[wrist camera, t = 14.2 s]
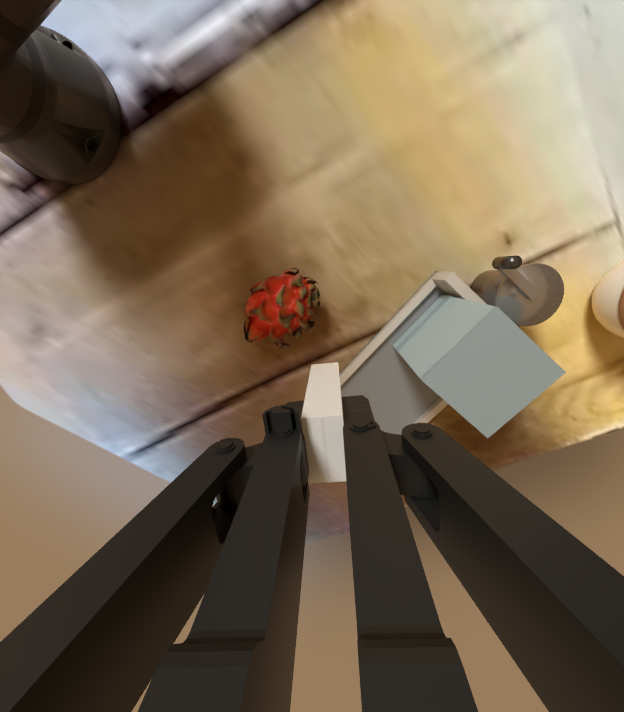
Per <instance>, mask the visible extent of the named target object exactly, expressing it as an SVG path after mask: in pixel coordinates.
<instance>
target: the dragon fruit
mask: <svg viewBox="0 0 624 712" xmlns="http://www.w3.org/2000/svg"><path fill="white" fill-rule="evenodd" d="M298 273H299V270H298V268H291V269H289V270H286V271H284V272H283V273H282V275H281V276H280V277H276V276H272V277H268V278H266V279H264V280H263V281H262V282H260V283H257V284H255V285H253V286H252V288H251V290H250V291H251V294H250V296H249V298H248V300H247V302H246V305H245V316H246V320H245V323H244V333H245V339H246V340H247V341H249V342H251V341H252V342H253V341H254V340H261V339H262V338H264V337H266V336H268V337H269V338H270V339H271V341H272V342H275V343H276V345H277V346H278V345H280V343H281V344H282V345H283V346H281V347H280V348H287V347H289V346H291V345H289V344H287V343H285V342H284V341H283V340H282V337H283V335H284V334H285V333H287V332H289V333H290V334H291V335H292V336H293V337H296V338H299V337H301V336H302V331H301V327H303V328H305V329H306V330H308V329H309V328H313V326H314V323H315V322H314V321H310V320H309V319H315V318H317V317H318V313H317V311H316V310H317V309H318V308H319V306H320V302H319V301H318V300H319V291H318V288H317V287H316V286H315V285H314V284H315V283H317V282H316V281H315V280H314V279H312V278H307V277H302V275H296V274H298ZM317 284H318V283H317ZM299 326H300V327H299ZM298 327H299V328H298ZM248 332H249V336H248V335H247V334H248ZM278 340H279V341H278ZM252 342H251V343H252Z"/></svg>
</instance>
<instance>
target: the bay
mask: <svg viewBox="0 0 624 712" xmlns="http://www.w3.org/2000/svg"><path fill="white" fill-rule="evenodd" d="M441 295H450V296H452V297H456V298H460V299H465V300H469V301H474V302H478V303H482V304H486V303H485V302H484V301H483V300H482V299H481V298H480V297H479V296H478V295H477V294H476V293H475V292H474V291H473V290H471V289H470V288H469V287H468V286H467V285H466V284H465V283H464V282H463V281H462V280H461V279H460V278H459V277H458V276H457V275H456V274H455V273H454V272H441V271H435V272H434V274H433V275H432V276H431V277H430V278H429V279H428V280H427V281H426V282H425V283H424V284H423V285H422V286H421V287H420V288H419V289H418V291H417V292H416V293H415V294H414V295H413V296H412V297H411V298H410V299H409V300H408V301H407V302H406V303H405V304H404V305H403V306H402V308H401V309H400V310H399V311H398V312H397V313H396V314H395V315H394V316H393V317H392V318H391V319H390V320H389V321H388V322H387V324H386V325H385V326H384V327H383V328H382V329H381V330H380V331H379V332H378V333H377V334H376V335H375V336H374V337H373V338H372V339H371V341H370V342H369V343H368V344H367V345H366V346H365V347H364V348H363V349H362V350H361V351H360V352H359V353H358V354H357V355H356V356H355V358H354V359H353V360H352V361H351V362H350V363H349V364H348V365H347V366H346V367H345V368H344V369H343V370H342V371H341V372H340V374H339V376H340V386H341V397H345V396H357V395H363V396H365V397H366V398H368V400H369V403H370V406H371V410H372V413H373V416H374V420H375V422H377V423H378V425H379V426H380V430H382V431H384V432H387V433H392V434H400V435H402V434H401V432H402V429H403V428H404V427H405V426H407V425H410V424H413V423H428V422H429V421H430V420H431V419H433V418H434V417H435V416H436V415H437V414H438V413H439V412H440V411H441V410H442V409H443V408H445V407H446V406H447V405H448V403H447V402H446V401H444V400H443V399H442V398H441V397H440V396H439V395H438V394H436V393H435V392H434V391H433V390H432V389H431V388H430V387H428V386H427V385H426V384H425V383H424V382H423V381H422V380H421V379H420V378H419V377H418V375H417V374H416V373H415V372H414V371H413V369H412V368H411V367H410V366H409V365H408V363H407V362H406V361H405V360H404V359H403V357H402V356H401V355H400V354H399V352H397V350H396V349H395V348H394V346H393V345H394V343H395V342H396V341H397V340H398V339H399V338H400V337H401V336H402V335H403V334H404V333H405V332H406V331H407V330H408V329H409V328H410V327H411V326H412V325H413V324H414V323H415V322H416V321H417V320H418V319H419V318H420V317H421V316H422V315H423V314H424V312H425V311H426V310H427V309H428V308H429V307H430V306H431V305H432V304H433V303H434V302H435V301H436V300H437V299H438V298H439V297H440V296H441Z"/></svg>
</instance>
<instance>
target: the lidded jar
mask: <svg viewBox="0 0 624 712" xmlns="http://www.w3.org/2000/svg"><path fill="white" fill-rule="evenodd" d="M591 301H592V310H593V313H594V316H595V318H596V319H597V321H598V322H599V323H600V324H601V325H602V326H603V327H604V328H605V329H606V330H608V331H609V332H611V333H613V334H615V335H617V336H619V337H621V338H624V261H622V262H620V263H618V264H617V265H615V266H614V267H613V268H611V269H610V270H609V271H608V272H606V273H605V274H604V275H603V276H602V278H601V279H600V280H599V282H598V283H597V285H596V286H595V288H594V290H593V293H592V298H591Z"/></svg>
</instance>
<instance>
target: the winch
mask: <svg viewBox="0 0 624 712" xmlns="http://www.w3.org/2000/svg"><path fill="white" fill-rule="evenodd" d="M521 264H522V259H521V257H519V256H505V257H497V258H495V259H494V260H493V262H492V266H493V268H495V269H497V270H491V271H486V272H483V273H482V274H480V275H479V276H477V277H476V278H475V280H474V281H473V283H472V285H471V288H470V289H471V290H473V291H474V292H475V293H476V294H477V295H478V296H479V297H480V298H481V299H482V300H483V301H484V302H485V303H486V304H487V305H491V306H496V307H498V308H499V309H500V310H501V311H502V312H503V313H505V314H506V315H507V316H508V317H509V318H510V319H511V320H512V321H513V322H514V323H515V324H516V325H519V326H533V325H537V324H539V323H542V322H544V321H545V320H547V319H548V318H550V317H551V316H552V315H553V314H554V313H555V312H556V310H557V309H558V308H559V306H560V304H561V302H562V299H563V295H564V284H563V280H562V278H561V276H560V275H559V273H558V272H557V271H556V270H555V269H554V268H552V267H550V266H548V265H545V264H525V265H521Z"/></svg>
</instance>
